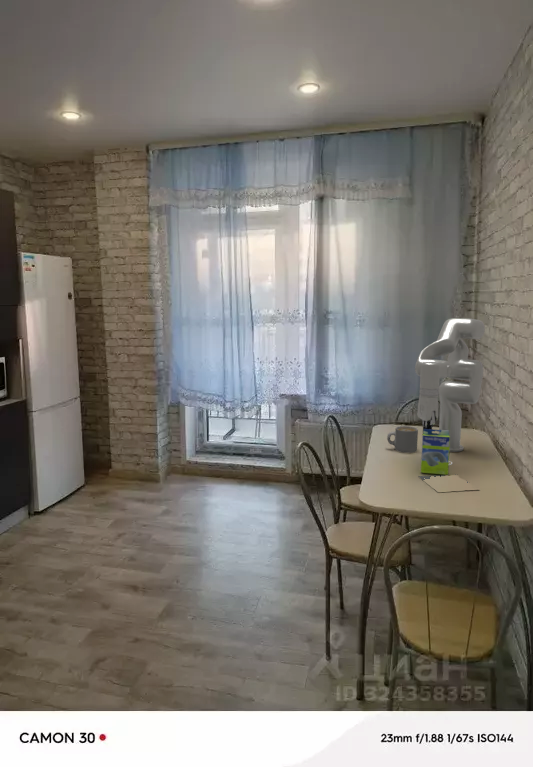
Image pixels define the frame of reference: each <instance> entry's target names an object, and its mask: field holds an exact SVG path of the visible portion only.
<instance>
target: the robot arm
mask: <svg viewBox="0 0 533 767" xmlns="http://www.w3.org/2000/svg"><path fill="white" fill-rule="evenodd" d="M485 332H486V327H485V323H484V322H483V320H480V319H476V318H461V317H460V318H458V317H456V318H455V317H453V318H448V319H447V320H445V321H444V323H443V325H442V327H441V329H440V332H439V334H438V337H437V339H436V341H434V342H432V343H430V344H429V345H427V346H426V347H424V348H422V350H421V351H420V353H419V355H418V357H417V360H416V362H415V365H414V371H415V374H416V376H418V377H419V378H420V379H419V398H418V401H417V402H418V403H417V414H416V416H417V417H418V419H421V421H422V430H423V429H433V426H435V425H436V422H437V421H438V420H439V424H438V426H439V427H438V428H439V429H438V430H449V436H450V450H449V453H457V452H458V453H459V452H463V450H464V448H465V447H464V445H462V444H461V438H462V437H461V433H462V418H463V417H462V415H463V411H462V409H461V407H460V406H459V404H468V405H473V404H474V405H475V404H477V403H478V402H479V399H480V397H481V396H480V395H481V389H482V384H483V383H482V382H483V378H484V377H483V376H484V364H483V362H482V361H480V360H478V359H469V353H470V350H469V349H470V348H469V347H468V345H467V343H466V341H464V340H463V339H469V340H472V339H473V340H479V339H482V338H483V336H484V334H485ZM446 355H448V358H447V360H443V359H442V360H441V359H434V358H438V357H442V356H446ZM446 378H449V379H452V380H446V381H443V382H441V383H440V381H441V380H440V379H446ZM456 380H459V381H456ZM460 380H461V381H460ZM467 381H469V382H467ZM438 398H439V399H438ZM439 433H440V432H438V434H439Z"/></svg>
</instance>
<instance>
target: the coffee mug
mask: <svg viewBox="0 0 533 767" xmlns="http://www.w3.org/2000/svg"><path fill="white" fill-rule="evenodd" d="M418 430H419V429H418V427H415V426H411V425H409V426H408V425H399V426H395V430H394V431H389V432H388V434H387V438H386V439H387V442H388V444H390V445H393V446H394V450H395V451H397V452H399V453H404V454H405V453H407V454H409V453H410V454H411V453H412V454H413V453H417V451H418V435H419V431H418ZM392 436H394V440H391V437H392Z"/></svg>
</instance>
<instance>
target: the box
mask: <svg viewBox="0 0 533 767" xmlns="http://www.w3.org/2000/svg"><path fill="white" fill-rule="evenodd" d="M439 432H440V433H439ZM421 438H422V439H421V460H420V473H423V474H432V475H449V466H450V465H449V464H450V463H449V461H450V452H449V450H450V436H449V430H439V429H434V428H432V429H423V428H422V435H421Z"/></svg>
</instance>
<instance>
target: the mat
mask: <svg viewBox="0 0 533 767" xmlns="http://www.w3.org/2000/svg"><path fill="white" fill-rule="evenodd" d="M454 474H455V473H454ZM440 475H441V476H444V474H432V475H418V478H419V477H420V478H421V479H422V481H423V480H425V479H430V477H431V476H434V477H436V476H440ZM455 475H456V474H455ZM441 476H440V477H441ZM420 478H419V479H420ZM424 478H425V479H424ZM421 479H420V480H421ZM466 481H467V480H466ZM468 482H469V481H467V483H468Z"/></svg>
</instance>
